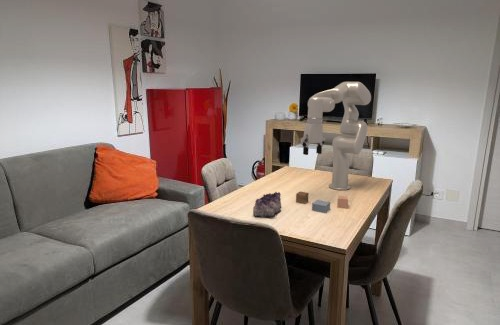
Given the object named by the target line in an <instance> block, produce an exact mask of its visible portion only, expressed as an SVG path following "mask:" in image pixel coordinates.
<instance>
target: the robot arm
mask: <svg viewBox="0 0 500 325" xmlns="http://www.w3.org/2000/svg"><path fill="white" fill-rule="evenodd" d="M371 101H372V95H371V92H370V90H369V89H368V88H367V87H366V85H364V84H363V83H362V82H360V81H343V82H340V83H339V84H338V85H336V86H334V88H331V89H327V90H324V91H320V92H317V93H314V95H312V96H310V97H309V99H308V100H307V120H306V124H305V126H304V132H303V136H302V137H301V138H300V139H299V140H300V143H301V145H302V147H303V149H302V151H303V152H302V154H303V156H304V155H305V156H308V155H309V150H310V149H309V146H310V145H311V144H316V150H315V151H316V154H317V155H318V154H319V155H322V151H323V150H322V149H323V147H324V144H325V142H326V140H327V138H326V137H325V136H324V132H323V131H324V129H323V121H324V119H323V114H324V113H329V112H332V111H333V110H334V109H335V107H336V104H339V103H341V102H342V105H343V108H344V114H343V117H342V121H341V124H340V127H339V133H340V134H341V135H338V136H336V137H334V138H333V139H332V142H331V143H332V152H333V154H332V155H333V157H332V159H333V160H332V161H333V162H332V175H331V176H332V177H331V183H329V185H328V187H329V188H330V189H332V190H337V191H346V190H350V189H351V185H350V184H349V172H350V171H349V170H350V157H349V155H348V154H350V155H351V154H352V155H359V154H360V153H361V152H362V150H363V147H364V143H365V140H366V137H367V134H368V124H367V123H366V121H363V120H359V115H360V113H359V111H358V108H357V107H356V106H367V105H369V104H370V102H371Z"/></svg>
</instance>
